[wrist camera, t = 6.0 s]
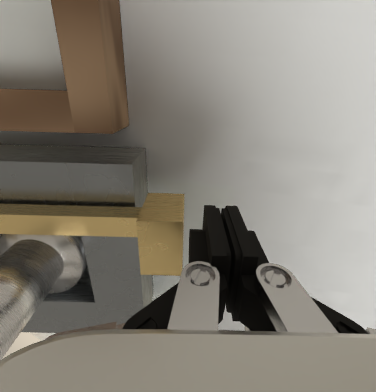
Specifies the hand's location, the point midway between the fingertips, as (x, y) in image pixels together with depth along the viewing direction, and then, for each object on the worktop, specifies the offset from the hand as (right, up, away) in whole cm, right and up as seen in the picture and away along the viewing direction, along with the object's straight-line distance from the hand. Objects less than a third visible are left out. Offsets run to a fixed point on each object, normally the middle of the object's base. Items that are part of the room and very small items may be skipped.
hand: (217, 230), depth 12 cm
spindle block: (-12, -1, +7) cm, 14 cm away
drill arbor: (-12, -1, +7) cm, 14 cm away
